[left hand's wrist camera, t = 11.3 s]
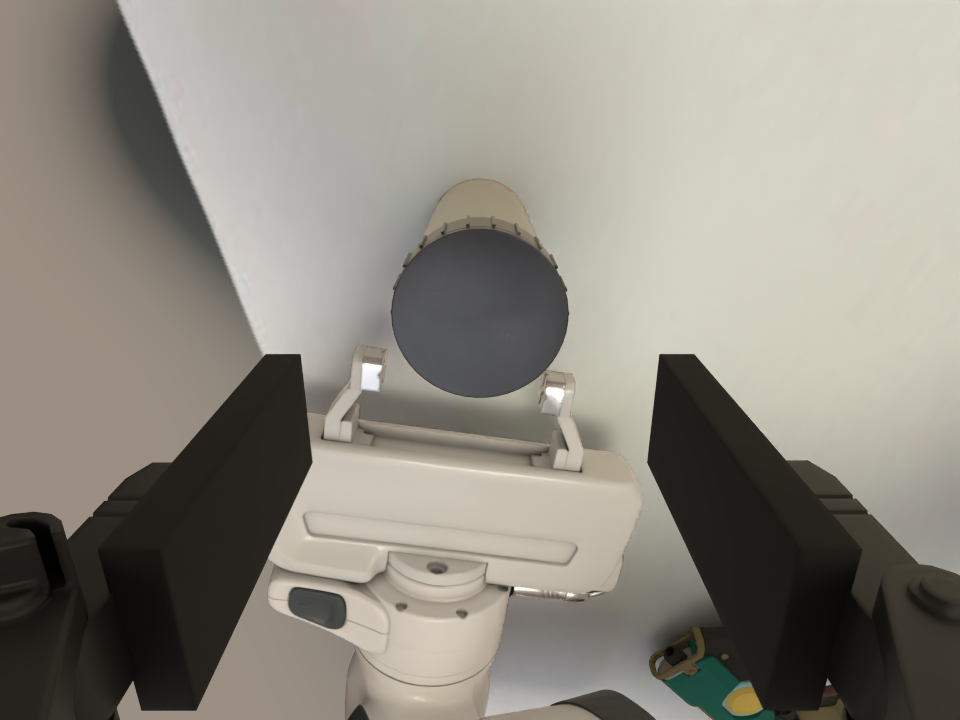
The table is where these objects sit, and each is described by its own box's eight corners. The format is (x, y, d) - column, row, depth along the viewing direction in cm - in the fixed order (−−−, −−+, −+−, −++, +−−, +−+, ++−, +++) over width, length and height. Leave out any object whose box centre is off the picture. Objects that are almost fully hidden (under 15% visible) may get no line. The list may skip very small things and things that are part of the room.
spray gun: (890, 703, 49) (704, 756, 52) (844, 556, 43) (634, 626, 46) (924, 758, 46) (721, 811, 48) (879, 606, 39) (648, 678, 42)
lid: (591, 258, 22) (604, 274, 20) (516, 396, 24) (520, 425, 22) (438, 185, 21) (433, 193, 19) (373, 335, 23) (362, 358, 21)
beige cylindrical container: (545, 205, 35) (591, 275, 20) (502, 291, 36) (516, 411, 22) (455, 161, 34) (438, 202, 19) (416, 252, 36) (373, 350, 21)
